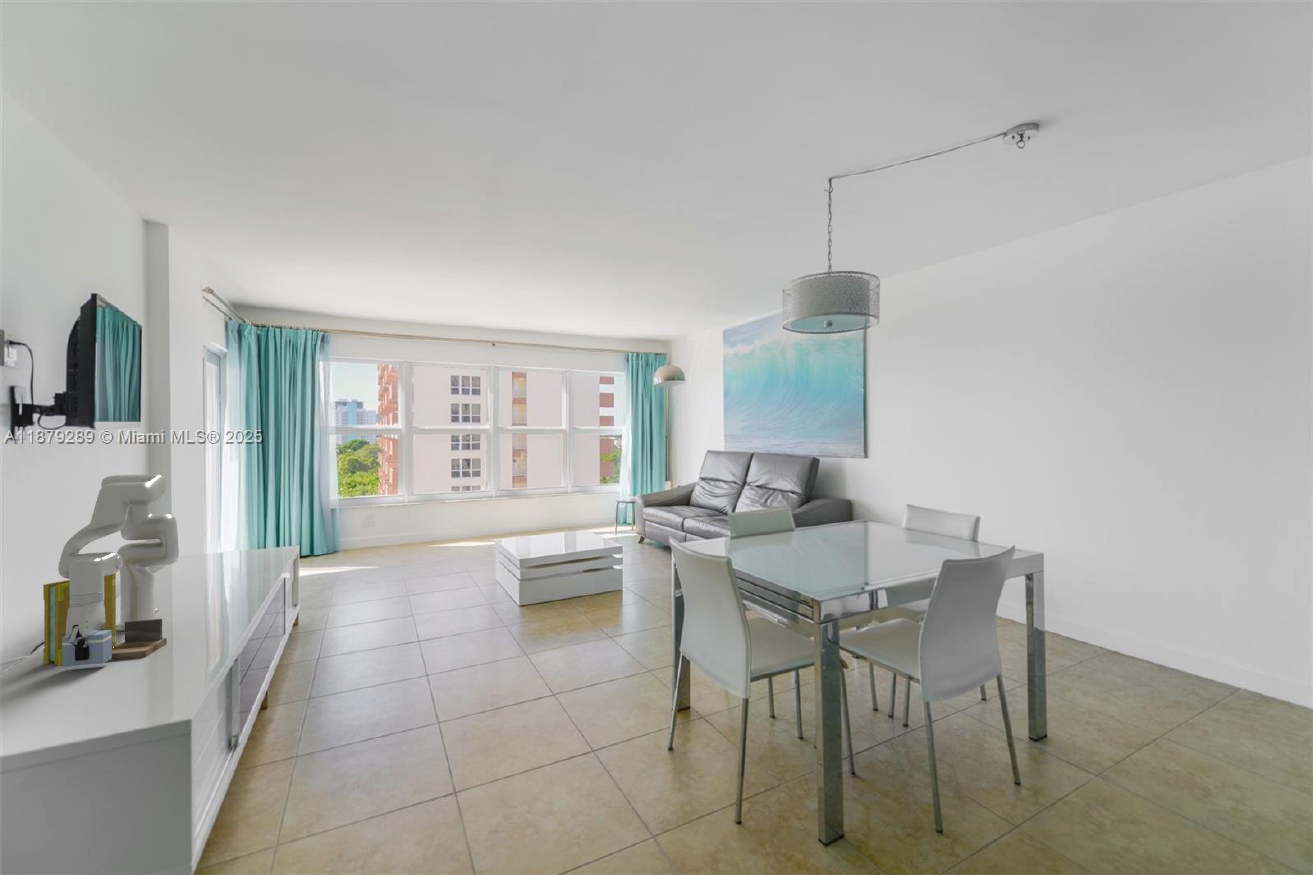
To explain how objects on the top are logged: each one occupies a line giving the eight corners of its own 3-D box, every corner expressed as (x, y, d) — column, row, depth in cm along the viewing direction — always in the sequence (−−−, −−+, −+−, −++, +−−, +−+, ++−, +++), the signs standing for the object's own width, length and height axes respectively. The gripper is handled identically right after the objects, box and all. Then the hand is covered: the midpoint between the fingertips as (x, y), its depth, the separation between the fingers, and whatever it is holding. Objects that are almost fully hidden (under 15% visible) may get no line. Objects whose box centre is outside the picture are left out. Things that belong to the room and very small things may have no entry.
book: (59, 665, 174) (59, 585, 174) (43, 663, 175) (43, 584, 175) (121, 645, 190) (121, 572, 190) (106, 644, 192) (106, 572, 192)
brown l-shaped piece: (123, 647, 188) (123, 621, 188) (166, 643, 192) (166, 617, 192) (100, 661, 177) (100, 633, 177) (146, 656, 180) (145, 629, 180)
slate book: (71, 661, 172) (71, 633, 172) (111, 658, 175) (111, 629, 175) (62, 667, 168) (62, 637, 168) (103, 663, 171) (103, 634, 171)
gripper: (90, 591, 178) (90, 648, 178) (51, 607, 162) (51, 669, 162) (119, 589, 180) (119, 645, 181) (83, 605, 164) (83, 666, 165)
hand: (87, 656), depth 172 cm, fingers closed on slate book, 4 cm apart
